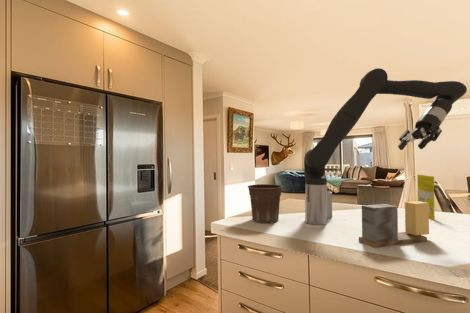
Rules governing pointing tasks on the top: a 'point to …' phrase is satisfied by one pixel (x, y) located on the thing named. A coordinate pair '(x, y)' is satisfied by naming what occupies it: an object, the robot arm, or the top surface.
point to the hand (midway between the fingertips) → (409, 148)
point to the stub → (417, 218)
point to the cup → (329, 204)
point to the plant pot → (265, 202)
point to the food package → (426, 192)
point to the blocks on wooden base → (384, 227)
